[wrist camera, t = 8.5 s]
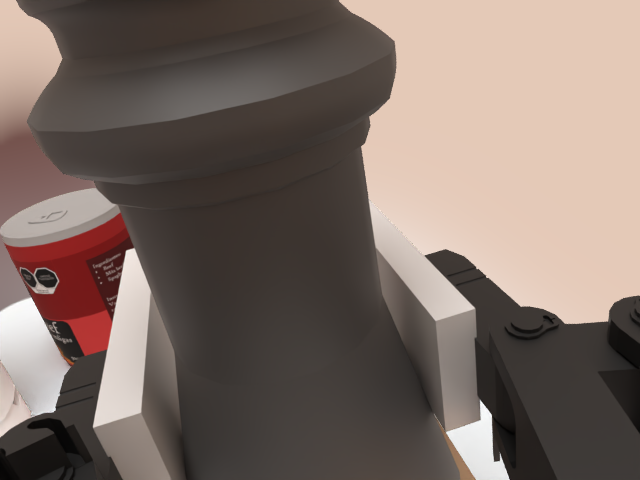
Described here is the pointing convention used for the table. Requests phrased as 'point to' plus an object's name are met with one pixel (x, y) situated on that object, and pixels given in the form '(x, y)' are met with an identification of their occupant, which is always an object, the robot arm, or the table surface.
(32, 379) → the table surface
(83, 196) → the canned food
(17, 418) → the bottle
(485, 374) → the robot arm
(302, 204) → the candle holder
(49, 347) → the table surface
